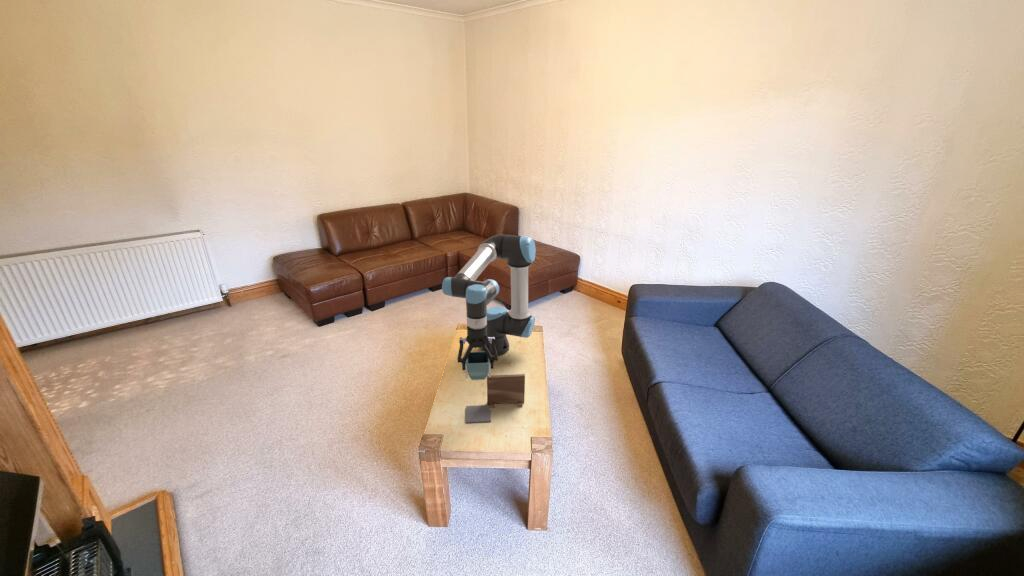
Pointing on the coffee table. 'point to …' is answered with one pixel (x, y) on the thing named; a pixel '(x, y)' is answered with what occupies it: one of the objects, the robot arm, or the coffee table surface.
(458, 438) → the coffee table surface
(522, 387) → the screen
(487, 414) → the mat
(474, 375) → the flower pot
